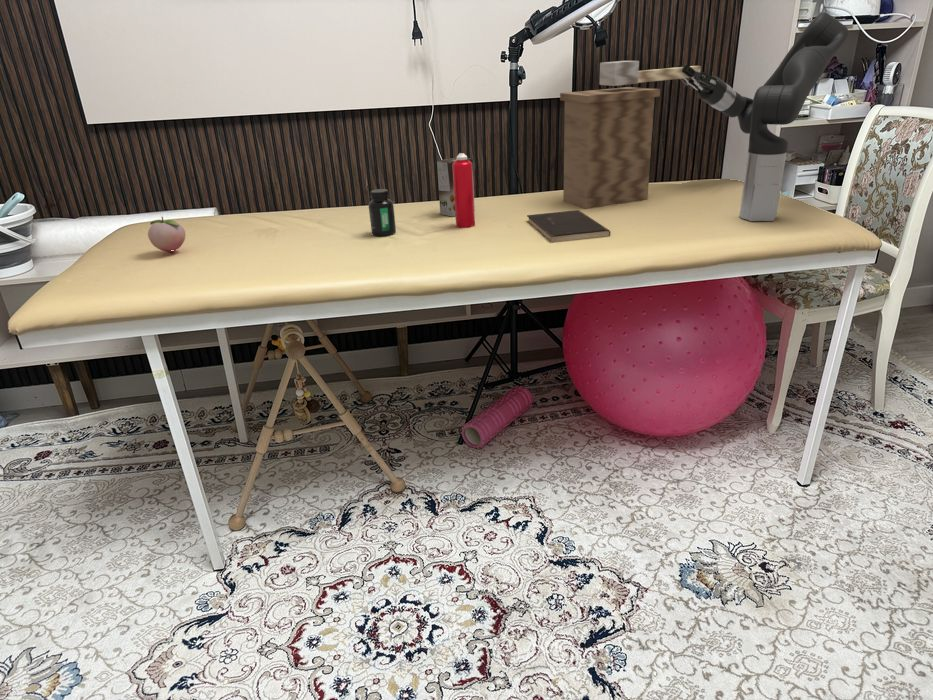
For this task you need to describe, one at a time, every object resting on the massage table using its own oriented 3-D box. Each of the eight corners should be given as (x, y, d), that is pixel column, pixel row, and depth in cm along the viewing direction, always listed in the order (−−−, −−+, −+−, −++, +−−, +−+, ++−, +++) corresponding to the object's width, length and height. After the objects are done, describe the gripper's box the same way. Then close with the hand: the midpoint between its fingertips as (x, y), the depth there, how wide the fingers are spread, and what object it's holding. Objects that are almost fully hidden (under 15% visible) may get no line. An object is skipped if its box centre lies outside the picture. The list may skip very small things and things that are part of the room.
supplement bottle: (391, 237, 174) (387, 193, 169) (368, 236, 175) (363, 193, 170) (399, 230, 180) (394, 187, 175) (376, 230, 181) (371, 188, 176)
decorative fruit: (146, 258, 168) (135, 221, 164) (163, 249, 176) (153, 213, 171) (178, 257, 167) (168, 220, 162) (194, 248, 174) (185, 212, 170)
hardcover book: (551, 244, 161) (551, 235, 160) (527, 223, 182) (527, 215, 181) (610, 238, 164) (610, 229, 163) (580, 217, 184) (580, 209, 183)
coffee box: (452, 217, 190) (449, 162, 183) (439, 214, 195) (435, 160, 188) (475, 211, 195) (473, 158, 188) (462, 208, 200) (459, 156, 193)
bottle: (474, 222, 183) (470, 151, 175) (475, 227, 179) (472, 154, 170) (455, 223, 183) (451, 152, 175) (456, 228, 178) (452, 155, 170)
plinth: (623, 190, 210) (628, 87, 196) (652, 199, 196) (660, 89, 182) (559, 199, 203) (560, 93, 189) (584, 210, 189) (587, 95, 175)
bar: (688, 76, 197) (690, 55, 195) (705, 76, 191) (707, 55, 188) (599, 84, 188) (600, 62, 186) (614, 85, 181) (614, 62, 179)
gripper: (708, 81, 204) (671, 55, 196) (739, 83, 192) (701, 55, 184) (696, 104, 206) (659, 79, 198) (726, 106, 194) (688, 80, 186)
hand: (680, 67), depth 191 cm, fingers closed on bar, 3 cm apart
